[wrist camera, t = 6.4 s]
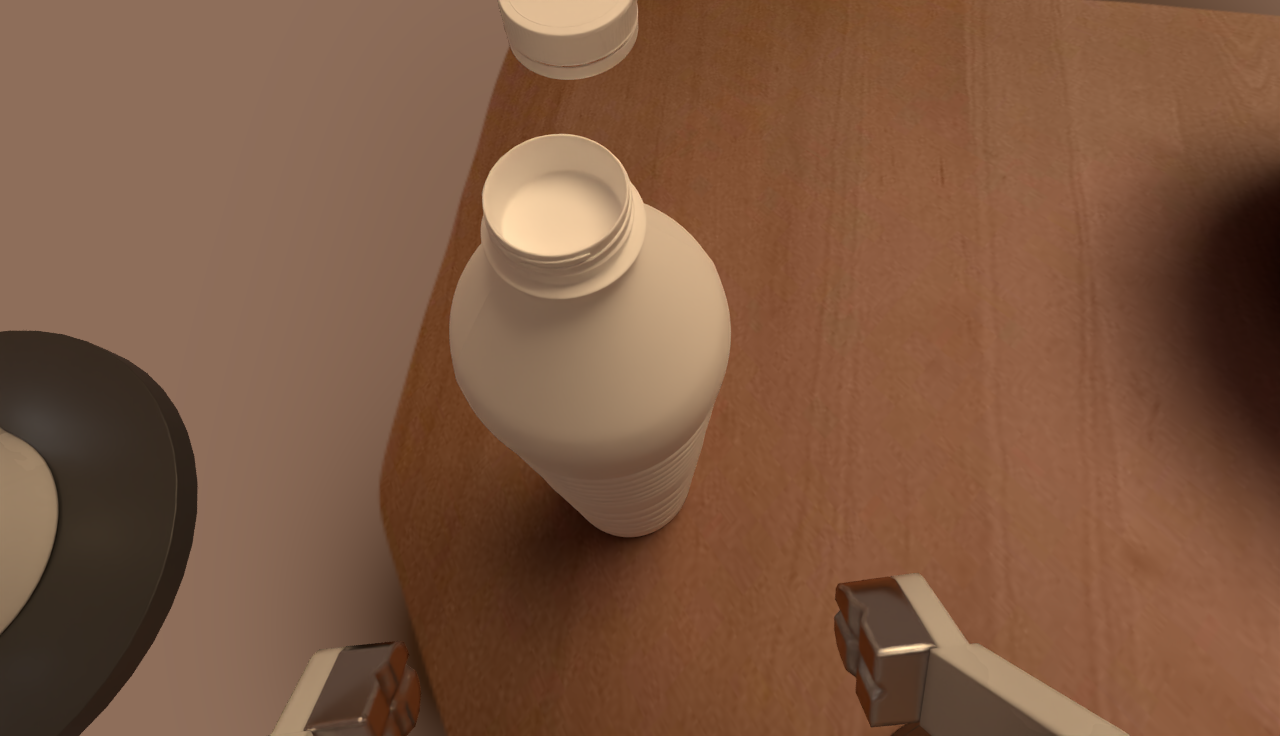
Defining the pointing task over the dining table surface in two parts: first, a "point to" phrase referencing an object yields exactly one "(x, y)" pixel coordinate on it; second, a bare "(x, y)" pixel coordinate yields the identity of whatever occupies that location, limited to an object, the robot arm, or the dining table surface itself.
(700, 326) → the water bottle
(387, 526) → the dining table surface
